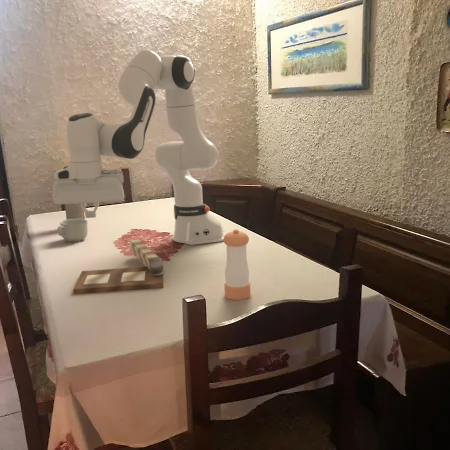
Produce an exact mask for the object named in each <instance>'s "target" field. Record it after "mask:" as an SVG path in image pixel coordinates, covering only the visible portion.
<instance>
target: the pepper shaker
mask: <svg viewBox="0 0 450 450" xmlns="http://www.w3.org/2000/svg"><path fill="white" fill-rule="evenodd" d="M248 235H249V234H247V232H243V231H240V230H239V229H234V230H232V231H230V232H227V234H226V235H225V236H224V239H223V241H222V242H223V243H224V244H225V246H226V263H225V270H224V274H225V276H224V277H225V282H224V284H223V285H224V296H225V299H229V300H232V301H242V300H246V299H249V297H250V296H251V283H250V279H249V278H250V277H249V276H250V270H249V264H248V260H247V245H248V243H249V240H250V238H249V236H248Z"/></svg>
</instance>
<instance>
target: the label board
mask: <svg viewBox="0 0 450 450" xmlns="http://www.w3.org/2000/svg"><path fill="white" fill-rule="evenodd" d="M162 269H163V271H162V272H161V273H150V270H149V269H148V268H147V267H146V266H140V267H124V268H123V267H122V268H108V269H107V268H105V269H92V270H82V271H81V272H80V275H79V276H78V278H77V280H76V283H75V284H74V287H73V289H72V293H73V295H77V294H78V295H80V294H92V293H105V292H106V293H107V292H120V291H121V292H122V291H134V290H146V289H147V290H148V289H162V288H164V265H162Z"/></svg>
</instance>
